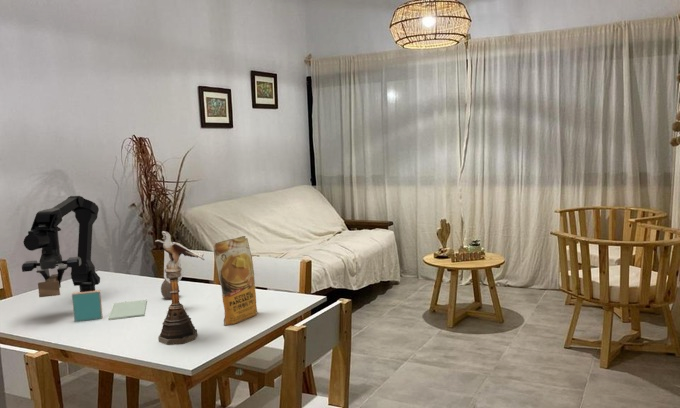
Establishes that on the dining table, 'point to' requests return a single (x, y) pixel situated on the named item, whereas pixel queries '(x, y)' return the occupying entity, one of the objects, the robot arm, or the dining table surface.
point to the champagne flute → (166, 260)
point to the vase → (166, 289)
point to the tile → (87, 305)
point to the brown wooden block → (49, 287)
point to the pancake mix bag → (236, 279)
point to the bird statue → (176, 297)
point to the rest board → (128, 309)
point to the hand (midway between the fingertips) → (54, 287)
